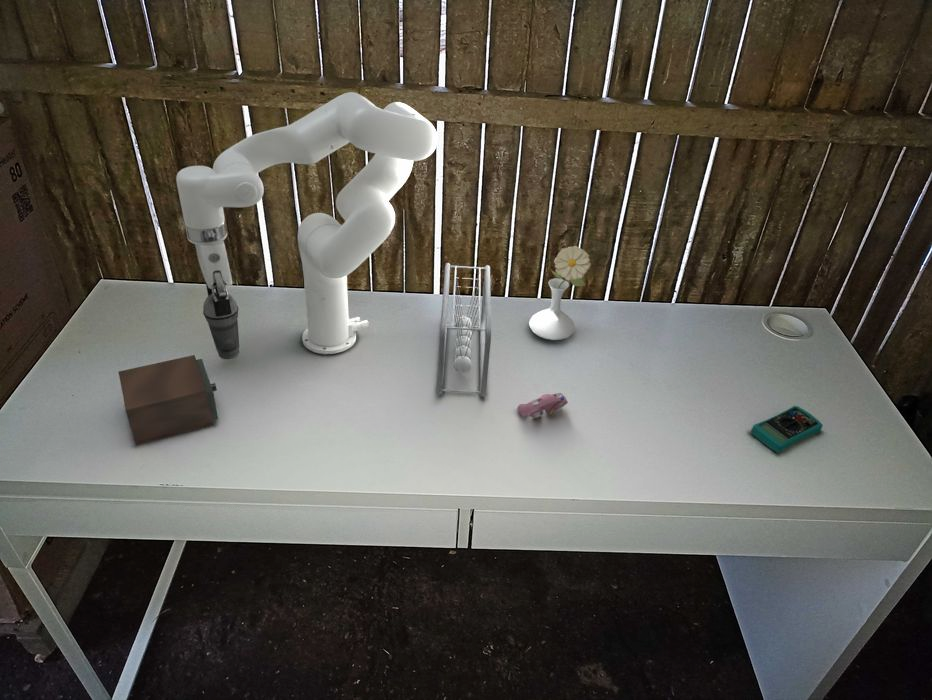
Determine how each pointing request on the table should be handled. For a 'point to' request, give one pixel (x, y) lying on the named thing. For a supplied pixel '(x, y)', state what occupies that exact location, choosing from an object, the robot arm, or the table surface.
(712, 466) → the table surface
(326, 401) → the table surface
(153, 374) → the cabinet
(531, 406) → the pink toy car
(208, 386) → the drawer
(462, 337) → the newton's cradle
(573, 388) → the table surface
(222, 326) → the beverage cup
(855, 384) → the table surface
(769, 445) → the digital multimeter
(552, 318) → the flower in vase
